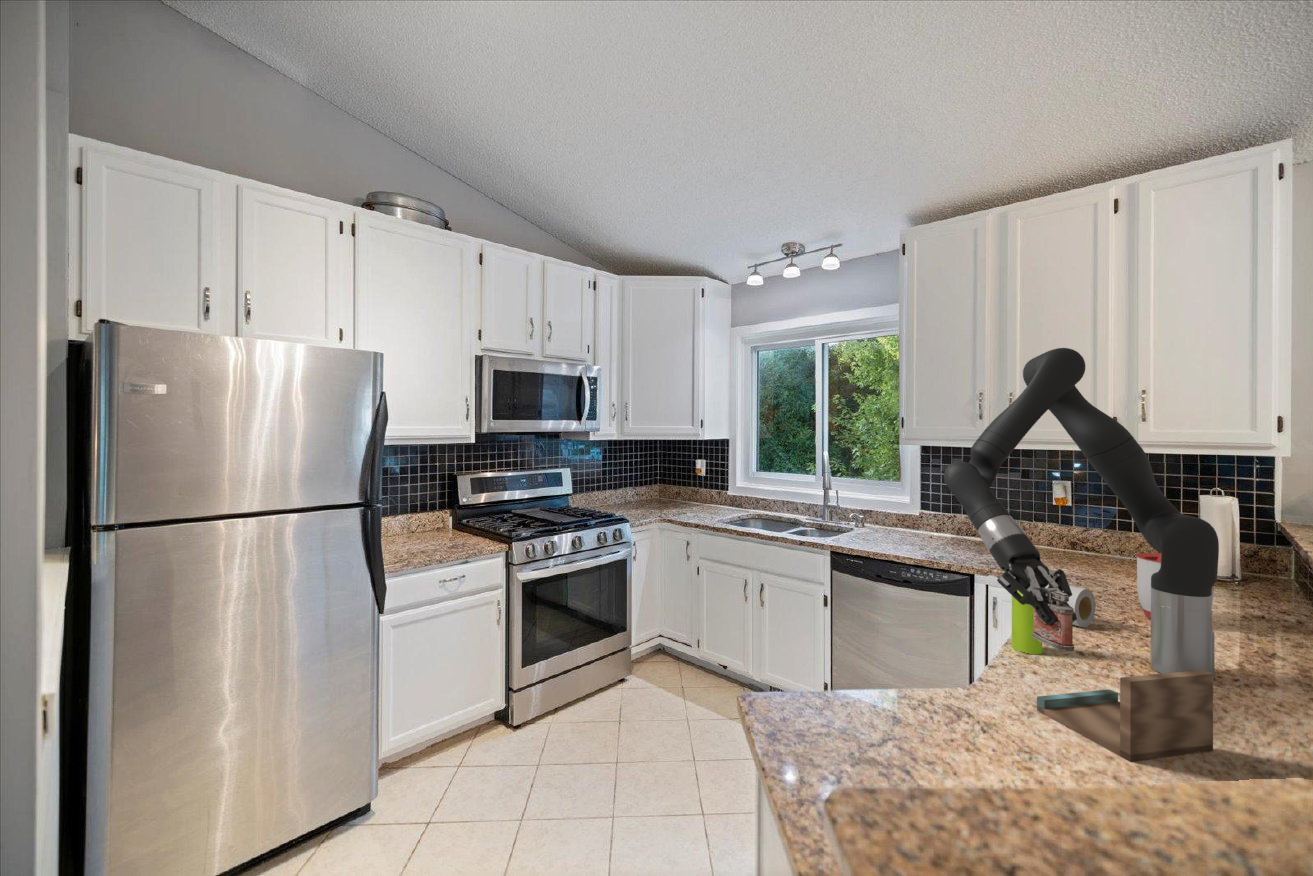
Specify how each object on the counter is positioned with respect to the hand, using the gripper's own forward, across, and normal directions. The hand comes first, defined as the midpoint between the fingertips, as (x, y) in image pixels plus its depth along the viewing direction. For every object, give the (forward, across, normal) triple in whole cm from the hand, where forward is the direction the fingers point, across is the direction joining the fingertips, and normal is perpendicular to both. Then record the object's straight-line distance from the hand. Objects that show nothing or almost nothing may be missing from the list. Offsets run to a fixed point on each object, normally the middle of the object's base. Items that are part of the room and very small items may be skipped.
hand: (1062, 622), depth 99 cm
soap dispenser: (-7, +18, +29) cm, 35 cm away
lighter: (+2, 0, +5) cm, 5 cm away
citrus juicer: (-14, +75, +37) cm, 85 cm away
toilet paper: (-18, +45, +41) cm, 63 cm away
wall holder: (+17, +2, +5) cm, 18 cm away
